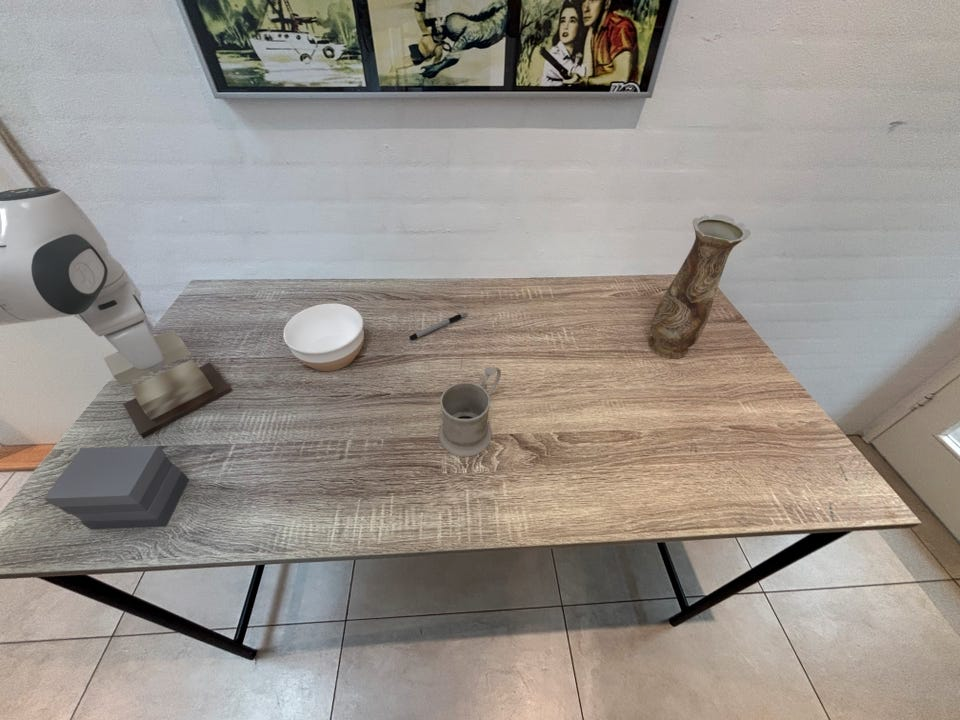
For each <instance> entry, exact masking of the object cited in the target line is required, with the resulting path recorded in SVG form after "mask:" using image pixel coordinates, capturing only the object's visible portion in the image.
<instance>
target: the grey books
mask: <svg viewBox="0 0 960 720" xmlns="http://www.w3.org/2000/svg"><path fill="white" fill-rule="evenodd" d="M189 481H190V478H189V477H188V476H187V475H186V474H185V473H184V472H183V471H182V470H181V469H180V468H179V467H178V466H177V465H176V464H175V463H173V462H172V461H171V460H170V459H168V457H167V454H166V453H165V451H163V449H162V448H161V447H160V446H159V445H141V446H139V445H138V446H110V447H109V446H107V447H81V448H80V449H79V450H78V452H77V453H76V454H75V456H74V457H73V458H72V460H71V461H70V462H69V464H68V465H67V466H66V468H65V469H64V471H63V472H62V473H61V475H59V477H58V478H57V480H56V481H55V482H54V484H53V485H52V486H51V488H50V489H49V491H48V492H47V493H46V495H45V496H44V498H43V500H44V501H46V502H48V503H49V504H51V505H52V506H54V507H56V508H58V509H60V510H62V511H63V512H64V513H66V514H68V515H72V516H74V517H75V518H77V519H78V520H80V524H81V525H83V526H84V527H86V528H88V529H89V530H91V531H92V530H114V529H136V528H139V529H140V528H161V527H167V526H168V523H169V522H170V520H171V517H172V515H173V513H174V511H175V509H176V507H177V505H178V503H179V501H180V499H181V497H182V495H183V493H184V492H185V489H186V487H187V485H188V483H189Z"/></svg>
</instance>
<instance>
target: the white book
mask: <svg viewBox="0 0 960 720" xmlns="http://www.w3.org/2000/svg"><path fill="white" fill-rule="evenodd" d="M154 338H155V340H156V342H157V344H158V346H159V348H160V350H161V352H162V354H163V356H164V362H163V363H161V364H162V366H163V368H164V367H167V366H169V365H171V364H174V363H175V362H178V361H180V360H182V359H184V358H186V357H188V356H190V355H192V353H191V351H190V350H189V348H188V347H187V345H186V344H185V343H184V341H183V339H181V337H180V336H179V334H177V332H176V331H175V330H174V329H173V328H172V329H169V330H167V331H164V332H162V333H160V334H157V335H154ZM103 361H104V362H105V365H106V366H107V368H108V370H109V371H110V373H111V375H112V377H113V378H114V379H115V380H116V381H117V383H118V384H119V385H120V386H121V387H123V386H125V385H128V384H129V383H132V382H134V381H136V380H138V379H140V378H142V377H145V376H146V375H149V374H152V372H151V371H150V369H148V370H146V371H140V370H138V369H137V368H136V367H134V366H133V365H132V364H131V363H130V362H129V361H128V360H127V359H126V358H125V357H124V356H123V355H122V354H121V353H120V352H119V351H116V352H114V353H112V354H109V355H106V356H105V357H103Z"/></svg>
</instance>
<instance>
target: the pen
mask: <svg viewBox="0 0 960 720" xmlns="http://www.w3.org/2000/svg"><path fill="white" fill-rule="evenodd" d="M466 315H468V312H462V311H461V312H460V313H458V314H456V315H453V316H452V317H449V318H447V319H445V320H442V321H440V322H437V323H436V324H433V325H431V326H429V327H426V328H423V329H421V330H420V331H417V332H414V333H412V334H411V335H409V340H410V341H413V340H415V339H419V338H420V337H423V336H425V335H427V334H429V333H432V332H434V331H436V330H439V329H441V328H442V327H445V326H447V325H450V324H452V323H454V322H456V321H458V320H460V319H463V318H465V317H466Z"/></svg>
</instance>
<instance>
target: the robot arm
mask: <svg viewBox="0 0 960 720" xmlns="http://www.w3.org/2000/svg"><path fill="white" fill-rule="evenodd" d="M141 294H142V293H141V291H140V290H139V288H138V287H137V285H136V283H135V282H134V280H132V278H131V276H130V275H129V273H128V272H127V270H126V269H125V267H124V266H123V265H122V263H120V261H118V260H117V259H116V258H114V257H113V256H112V254H111V253H110V250H109V247H108V244H107V242H106V240H105V239H104V237H103V235H102V234H101V232H100V231H99V230H98V228H97V227H96V226H95V224H94V223H93V221H92V220H91V219H90V218H89V216H88V215H87V214H86V213H85V211H84V210H83V209H82V208H81V207H80V205H79V204H77V203H76V201H74V199H73V198H72V197H71V196H69V194H67V193H66V192H65V191H63V190H61V189H59V188H54V187H49V186H36V187H23V188H21V187H20V188H17V189H16V188H15V189H9V190H5V191H0V326H7V325H15V324H16V325H17V324H22V323H31V322H39V321H46V320H53V319H60V318H67V317H72V316H74V318H76V319H78V320H80V321H82V322H83V323H85V324H86V325H87V326H88V327H89V329H90V330H91V331H92V332H93V333H94V334H95V335H96V336H97V337H104V338H105V340H106V341H108V343H110V344H111V345H112V346H113V347H114V348H115V350H117V352H120V353H121V354H122V355H123V356H124V357H125V358H126V359H127V360H128V361H129V362H130V363H131V364H132V365H133V366H134V367H136V368H137V369H138V370H140V371H146V370H148V369H150V371H151V373H153V374H155V373H158V372H160V371H163V370H164V367H163V366H162V364H161V363H163V362H164V356H163V354H162V352H161V350H160V348H159V346H158V344H157V342H156V340H155V338H154V337H155V335H154V334H153V333H152V331H151V329H150V327H149V325H148V324H147V321H146V319H147V318H148V316H147V314H146V311H145V309H144V307H143V305H142V299H141Z"/></svg>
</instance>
